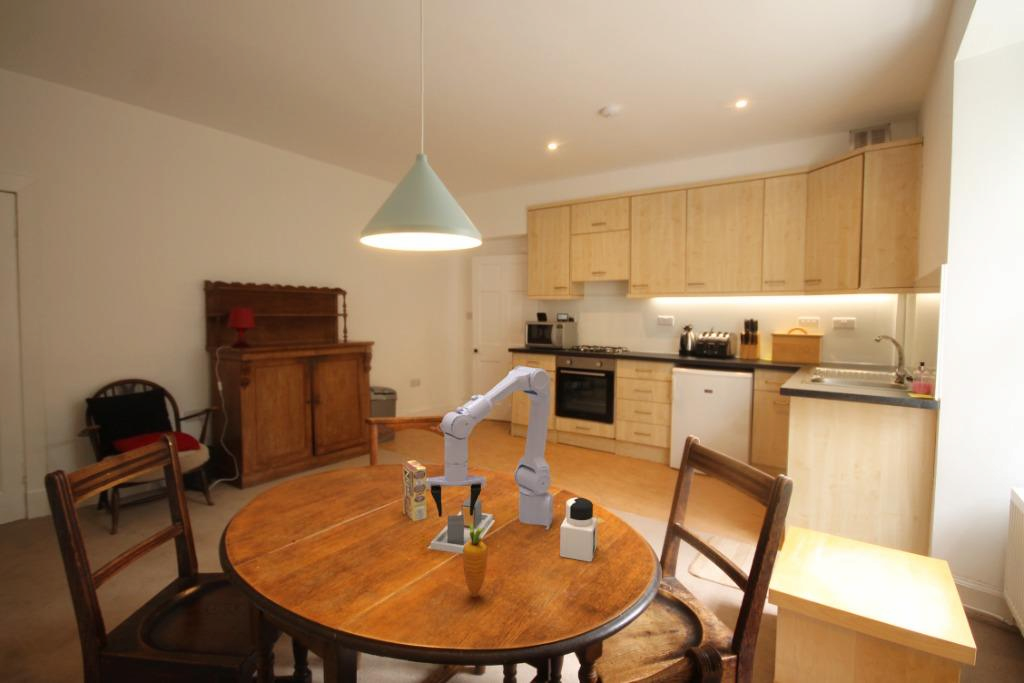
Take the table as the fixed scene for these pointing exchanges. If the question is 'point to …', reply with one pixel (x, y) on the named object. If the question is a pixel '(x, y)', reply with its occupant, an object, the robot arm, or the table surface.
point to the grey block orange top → (455, 529)
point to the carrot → (475, 561)
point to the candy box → (414, 490)
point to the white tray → (441, 538)
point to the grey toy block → (477, 513)
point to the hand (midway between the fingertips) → (455, 514)
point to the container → (578, 530)
